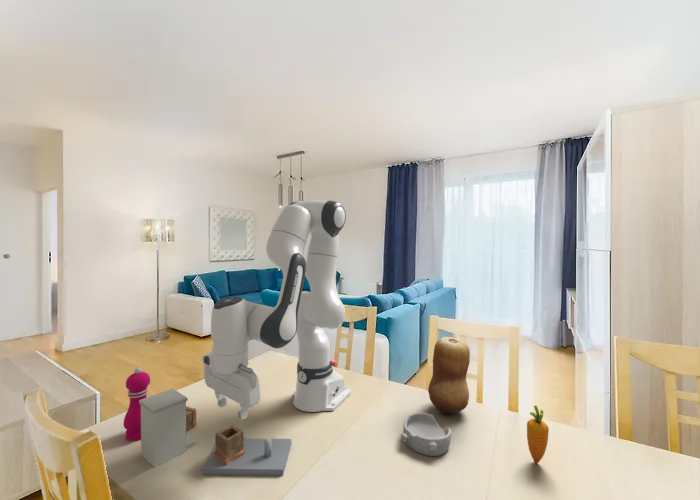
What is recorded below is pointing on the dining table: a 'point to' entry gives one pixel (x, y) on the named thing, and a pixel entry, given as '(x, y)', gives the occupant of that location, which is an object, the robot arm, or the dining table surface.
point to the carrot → (537, 435)
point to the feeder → (163, 427)
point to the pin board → (253, 459)
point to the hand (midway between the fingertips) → (232, 411)
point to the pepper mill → (135, 403)
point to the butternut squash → (450, 375)
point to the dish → (425, 434)
